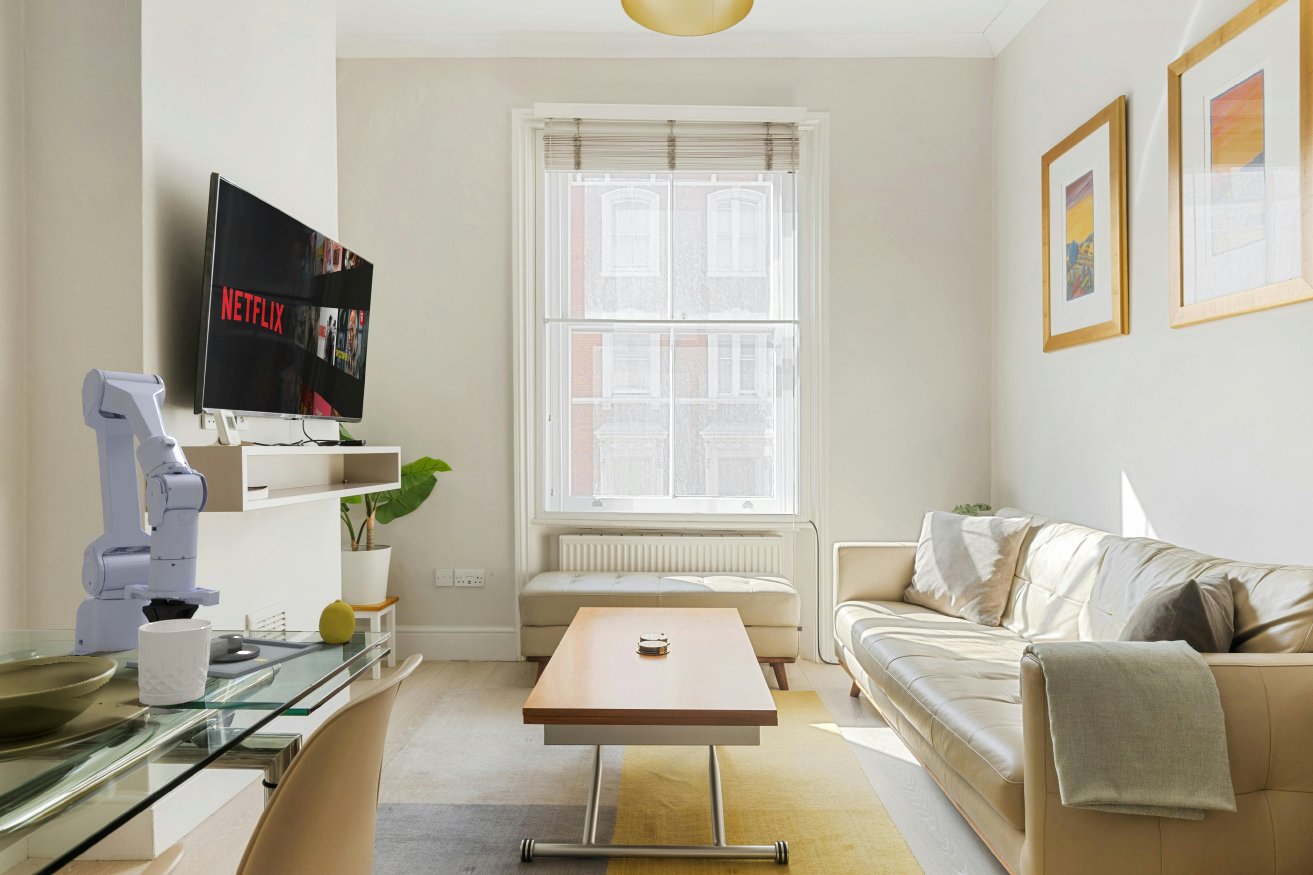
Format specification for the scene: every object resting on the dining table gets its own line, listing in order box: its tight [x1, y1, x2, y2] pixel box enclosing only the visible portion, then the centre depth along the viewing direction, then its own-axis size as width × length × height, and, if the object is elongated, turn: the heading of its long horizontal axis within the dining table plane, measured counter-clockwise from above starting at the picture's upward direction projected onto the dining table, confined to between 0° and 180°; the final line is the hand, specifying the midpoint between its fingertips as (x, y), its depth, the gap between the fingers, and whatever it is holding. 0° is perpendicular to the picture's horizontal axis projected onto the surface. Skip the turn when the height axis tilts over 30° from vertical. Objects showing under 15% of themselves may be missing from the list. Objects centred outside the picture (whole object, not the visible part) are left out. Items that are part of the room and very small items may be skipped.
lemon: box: [318, 599, 356, 645], centre depth 127 cm, size 6×6×8 cm
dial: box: [209, 633, 260, 664], centre depth 114 cm, size 11×8×3 cm
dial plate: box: [125, 636, 323, 679], centre depth 115 cm, size 18×18×2 cm
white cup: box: [137, 618, 214, 715], centre depth 96 cm, size 8×8×10 cm
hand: (168, 653), depth 111 cm, fingers closed
